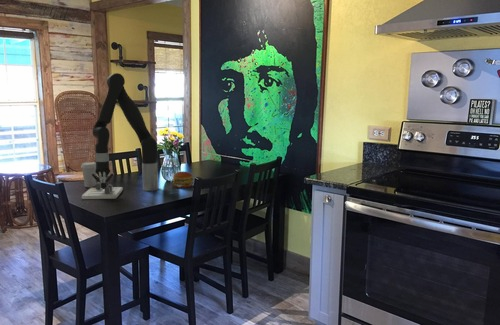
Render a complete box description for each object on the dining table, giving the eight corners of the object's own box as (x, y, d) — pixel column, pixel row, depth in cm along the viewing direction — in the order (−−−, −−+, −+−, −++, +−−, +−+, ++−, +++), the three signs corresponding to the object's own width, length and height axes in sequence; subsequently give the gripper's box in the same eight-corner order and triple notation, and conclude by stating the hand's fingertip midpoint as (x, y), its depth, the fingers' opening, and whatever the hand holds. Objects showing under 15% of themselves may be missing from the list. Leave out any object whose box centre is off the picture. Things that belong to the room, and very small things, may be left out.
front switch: (110, 192, 245) (110, 186, 244) (109, 193, 242) (108, 187, 241) (105, 192, 245) (105, 186, 244) (104, 193, 242) (104, 187, 241)
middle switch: (112, 189, 251) (112, 184, 250) (111, 191, 248) (111, 185, 247) (108, 189, 250) (108, 184, 250) (107, 191, 247) (106, 185, 247)
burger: (189, 189, 263) (188, 174, 261) (169, 188, 266) (168, 173, 264) (196, 185, 276) (195, 170, 274) (176, 184, 279) (176, 169, 277)
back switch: (101, 187, 256) (100, 182, 255) (100, 188, 253) (99, 183, 252) (97, 187, 255) (96, 182, 255) (95, 189, 252) (95, 183, 252)
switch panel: (122, 190, 260) (122, 187, 260) (116, 198, 240) (115, 194, 240) (91, 190, 258) (91, 187, 257) (81, 199, 238) (81, 195, 238)
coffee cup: (81, 188, 264) (79, 165, 262) (83, 184, 273) (81, 162, 271) (97, 187, 267) (96, 164, 264) (98, 184, 276) (97, 161, 273)
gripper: (115, 159, 250) (116, 187, 253) (92, 159, 248) (93, 187, 251) (112, 161, 242) (113, 190, 245) (89, 161, 241) (90, 190, 244)
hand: (103, 188), depth 248 cm, fingers closed
